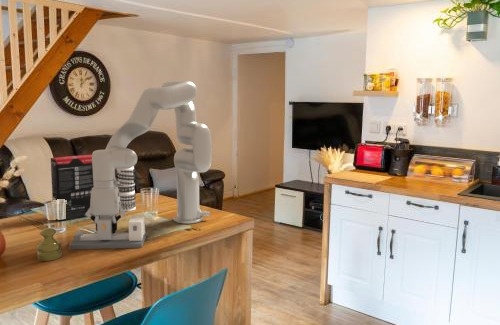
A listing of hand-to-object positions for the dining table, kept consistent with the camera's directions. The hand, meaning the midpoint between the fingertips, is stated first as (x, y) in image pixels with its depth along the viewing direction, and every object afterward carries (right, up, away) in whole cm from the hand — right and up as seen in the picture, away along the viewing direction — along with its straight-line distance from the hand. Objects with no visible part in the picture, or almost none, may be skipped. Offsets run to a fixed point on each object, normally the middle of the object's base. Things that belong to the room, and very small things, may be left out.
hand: (106, 232), depth 156 cm
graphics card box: (-25, +1, +32) cm, 41 cm away
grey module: (0, -1, 0) cm, 1 cm away
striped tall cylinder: (-6, +3, +46) cm, 47 cm away
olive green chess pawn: (-14, -6, -14) cm, 21 cm away
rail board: (+1, -4, +1) cm, 4 cm away
